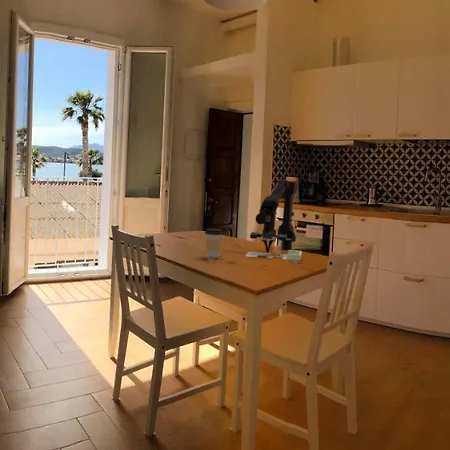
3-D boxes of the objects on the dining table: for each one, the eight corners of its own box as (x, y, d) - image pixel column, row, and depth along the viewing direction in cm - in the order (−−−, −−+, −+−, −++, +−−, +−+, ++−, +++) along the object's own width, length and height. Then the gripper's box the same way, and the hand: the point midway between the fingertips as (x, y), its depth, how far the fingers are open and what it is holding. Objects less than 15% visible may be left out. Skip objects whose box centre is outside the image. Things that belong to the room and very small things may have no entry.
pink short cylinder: (271, 254, 245) (271, 246, 244) (280, 254, 244) (281, 247, 243) (270, 255, 240) (270, 248, 239) (280, 256, 239) (280, 248, 238)
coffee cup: (206, 261, 227) (207, 230, 225) (202, 257, 236) (203, 228, 234) (224, 260, 230) (226, 230, 228) (220, 257, 239) (221, 228, 237)
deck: (248, 254, 249) (248, 247, 249) (301, 258, 244) (301, 251, 243) (244, 258, 236) (245, 251, 236) (300, 263, 231) (300, 255, 231)
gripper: (249, 223, 235) (247, 253, 237) (286, 226, 231) (284, 256, 233) (252, 221, 246) (250, 250, 248) (287, 223, 242) (285, 253, 244)
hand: (267, 252), depth 243 cm, fingers closed
